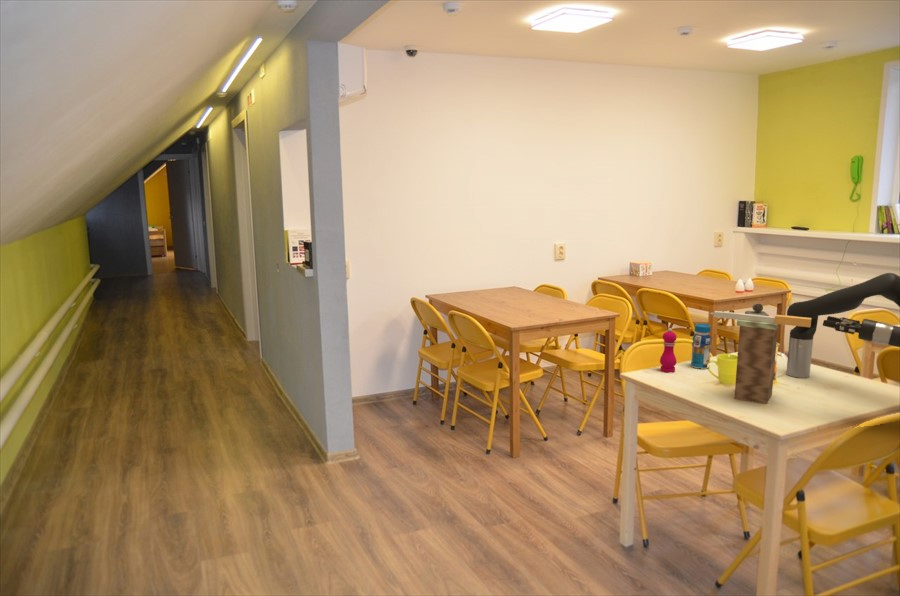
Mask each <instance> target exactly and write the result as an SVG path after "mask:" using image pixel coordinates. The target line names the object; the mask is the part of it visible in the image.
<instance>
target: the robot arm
mask: <svg viewBox="0 0 900 596" xmlns="http://www.w3.org/2000/svg"><path fill="white" fill-rule="evenodd" d="M874 296H876V297H877V296H881V297H883V298H885V299H887V300H889V301H891V302H893V303H894V304H896V305H897V307H899V308H900V275H898V274H896V273H893V272H885V273H883V274H880V275H876V276H874V277H872V278H870V279H868V280H866V281H863V282H861V283H857V284H854V285H852V286H848V287H844V288H841V289H837V290H835V291H832V292H829V293H826V294H823V295H821V296H818V297H816V298H813V299H809V300H808V299H807V300H805V301H797V302H796V301H795V302H793V303H792V304H790V305H789V306H788V307H787V309H786V316H796V317H806V318H811V326H810V327H801V326H794V327H793V328H791V330H790V331H789V339H788V353H787V362H786V372H785V373H787V374H786V375H787V376H788V377H789V376H790V377H793V378H798V379H799V378H801V379H805V378H806V377H807V378H809V377H810V376H811V364H812V355H813V354H812V353H813V346H814V345H813V344H814V336H815V334H816V332H817V326H818V322H819V316H827V315H828V316H827V317H826V319H824V320H823V323H822V326H823V327H826V328H829V329H830V328H832V329H834V330H835V332H841V333H845V334H850V335H855V334H856V333H857V334H858V335H857V337H858V339H859V340H862V341H867V342H872V343H874V344H875V343H876V344H880V345H881V344H882V345H888V346H893V347H897V348H900V326H899V325H898V326H897V325H893V324H889V323H886V322H883V321H877V320H874V319H868V318H864V319H863V320H862V321H860V320H856V319H853V318H847V317H836V316H831V315H836V314H842V313H845V312H851V311H853V310H855V309H858V308H859V307H860V306H861V305H862V304H863V302H864V300H865V299H868V298H871V297H874Z"/></svg>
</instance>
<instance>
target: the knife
mask: <svg viewBox="0 0 900 596" xmlns="http://www.w3.org/2000/svg"><path fill="white" fill-rule="evenodd" d="M709 316H713V317H714V318H719V319H728V320H736V321H737V320H746V321H755V322H765V323H774V324H780V325H781V326H783V325H784V326H793V327H796V326H801V327H810V326H811V318H806V317H796V316H787V315H784V314H775V315H774V316H771V315H769V316H762V315H752V314H745V313H740V312H731V311H720V310H715V311H714V312H710V313H709Z"/></svg>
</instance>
